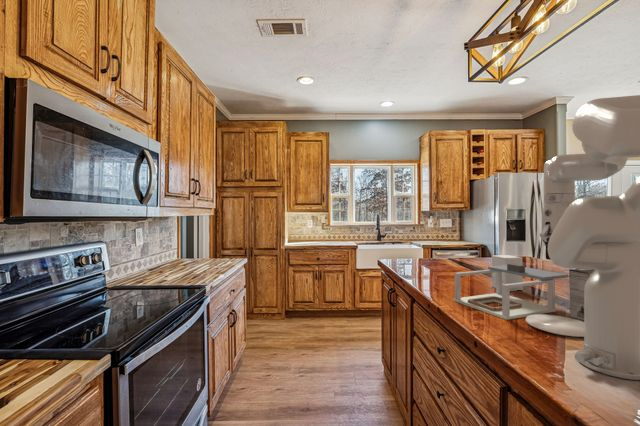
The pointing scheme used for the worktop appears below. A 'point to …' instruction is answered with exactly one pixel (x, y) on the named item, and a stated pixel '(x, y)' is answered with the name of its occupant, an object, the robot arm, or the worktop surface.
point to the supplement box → (507, 277)
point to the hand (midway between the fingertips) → (559, 258)
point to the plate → (557, 324)
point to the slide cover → (528, 272)
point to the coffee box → (578, 291)
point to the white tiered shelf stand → (506, 298)
